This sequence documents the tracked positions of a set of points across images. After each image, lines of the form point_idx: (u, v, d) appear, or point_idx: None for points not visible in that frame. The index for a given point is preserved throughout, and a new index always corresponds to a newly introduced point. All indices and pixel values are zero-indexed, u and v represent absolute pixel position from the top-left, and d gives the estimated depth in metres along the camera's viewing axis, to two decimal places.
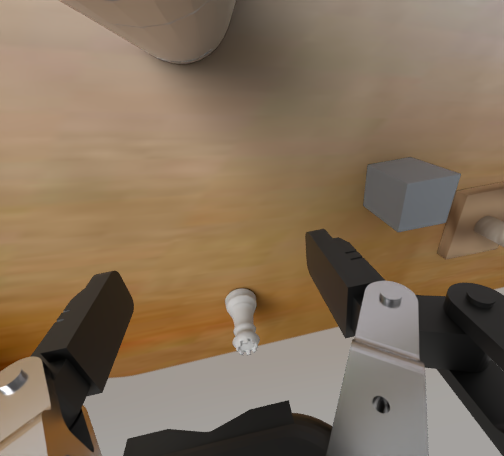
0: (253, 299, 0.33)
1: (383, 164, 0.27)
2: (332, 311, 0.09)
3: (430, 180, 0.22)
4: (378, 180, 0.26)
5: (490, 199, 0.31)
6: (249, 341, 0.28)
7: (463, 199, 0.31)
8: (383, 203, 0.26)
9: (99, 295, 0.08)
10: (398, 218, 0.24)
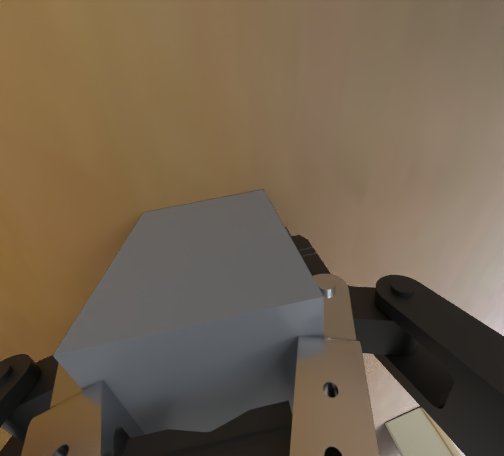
0: None
1: None
2: None
3: None
4: (244, 216, 0.08)
5: None
6: None
7: None
8: (177, 250, 0.07)
9: None
10: (135, 326, 0.05)
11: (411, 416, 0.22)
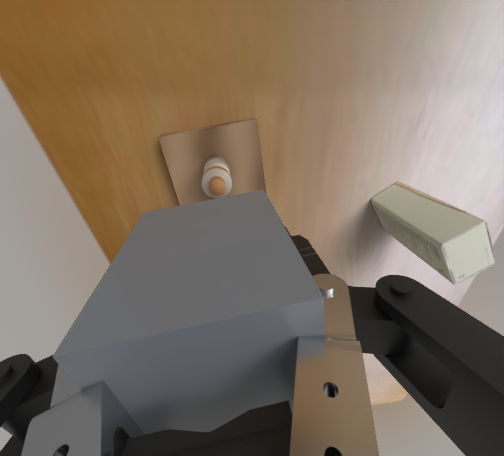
0: None
1: None
2: None
3: None
4: (244, 217, 0.08)
5: (249, 156, 0.26)
6: None
7: (249, 120, 0.25)
8: (177, 251, 0.07)
9: None
10: (135, 327, 0.05)
11: (388, 189, 0.32)
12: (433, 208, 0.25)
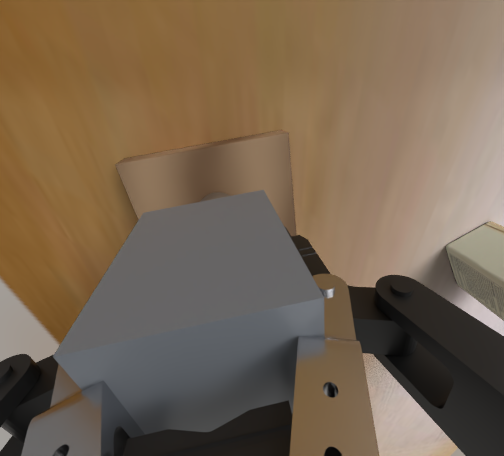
0: None
1: None
2: None
3: None
4: (244, 217, 0.08)
5: (274, 193, 0.16)
6: None
7: (275, 134, 0.14)
8: (178, 251, 0.07)
9: None
10: (135, 327, 0.05)
11: (475, 232, 0.21)
12: None
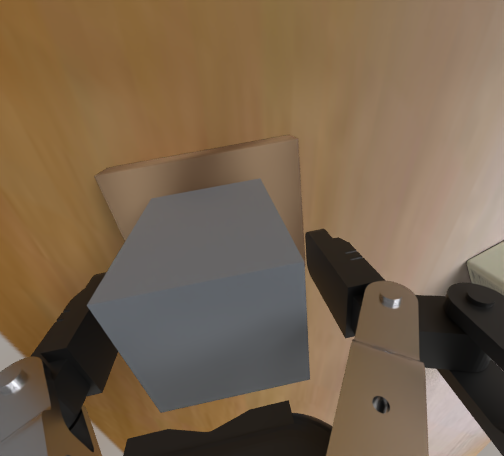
0: None
1: None
2: (332, 311, 0.09)
3: (304, 323, 0.07)
4: (242, 201, 0.10)
5: (280, 207, 0.14)
6: None
7: (282, 140, 0.12)
8: (184, 229, 0.08)
9: None
10: (151, 284, 0.06)
11: (499, 247, 0.19)
12: None
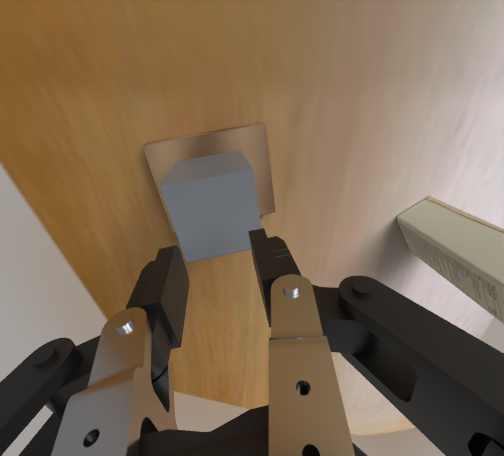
0: None
1: None
2: None
3: (256, 206, 0.15)
4: (228, 158, 0.17)
5: (256, 169, 0.21)
6: None
7: (256, 125, 0.20)
8: (198, 168, 0.16)
9: (170, 264, 0.09)
10: (187, 180, 0.14)
11: (418, 205, 0.27)
12: (482, 233, 0.21)
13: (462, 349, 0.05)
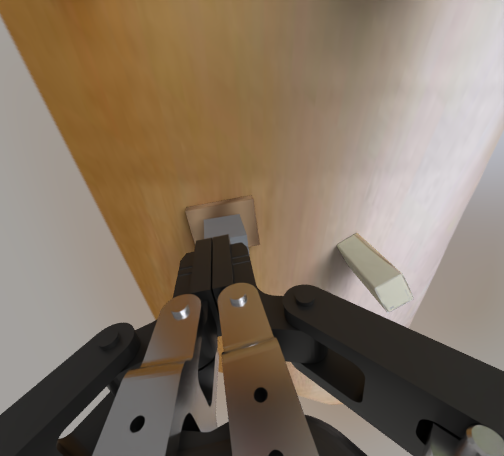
0: None
1: None
2: None
3: None
4: (233, 221, 0.33)
5: (248, 221, 0.37)
6: None
7: (248, 198, 0.36)
8: (218, 228, 0.32)
9: (210, 255, 0.10)
10: None
11: (349, 238, 0.43)
12: (374, 259, 0.37)
13: (397, 342, 0.05)
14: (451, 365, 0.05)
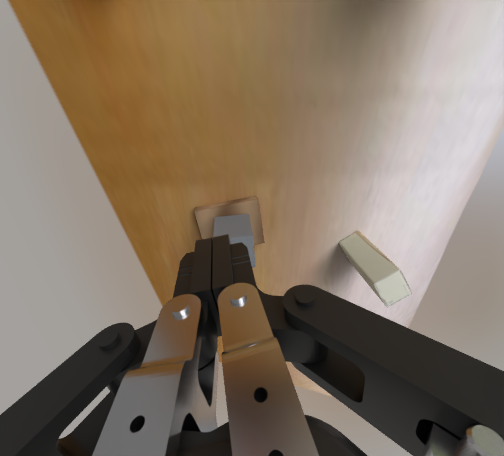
0: None
1: None
2: None
3: (253, 249, 0.33)
4: (242, 221, 0.35)
5: (253, 220, 0.39)
6: None
7: (253, 199, 0.38)
8: (227, 227, 0.34)
9: (210, 255, 0.10)
10: None
11: (350, 236, 0.45)
12: (374, 256, 0.39)
13: (397, 342, 0.05)
14: (451, 365, 0.05)
